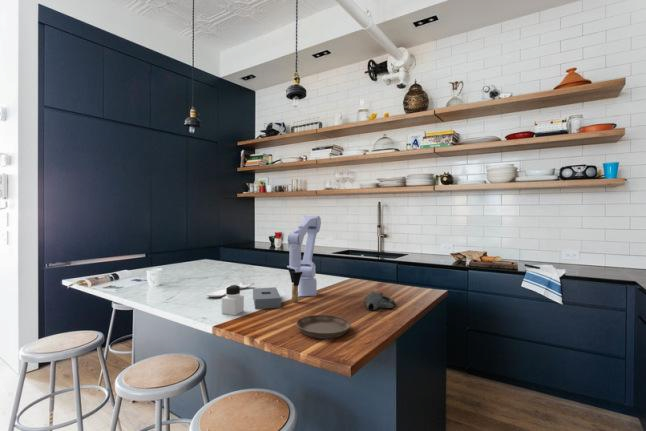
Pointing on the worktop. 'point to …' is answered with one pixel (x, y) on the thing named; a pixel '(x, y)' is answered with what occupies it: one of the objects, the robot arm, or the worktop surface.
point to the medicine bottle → (232, 301)
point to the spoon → (223, 292)
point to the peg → (294, 293)
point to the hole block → (266, 298)
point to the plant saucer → (323, 326)
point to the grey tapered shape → (378, 301)
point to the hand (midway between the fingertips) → (295, 284)
